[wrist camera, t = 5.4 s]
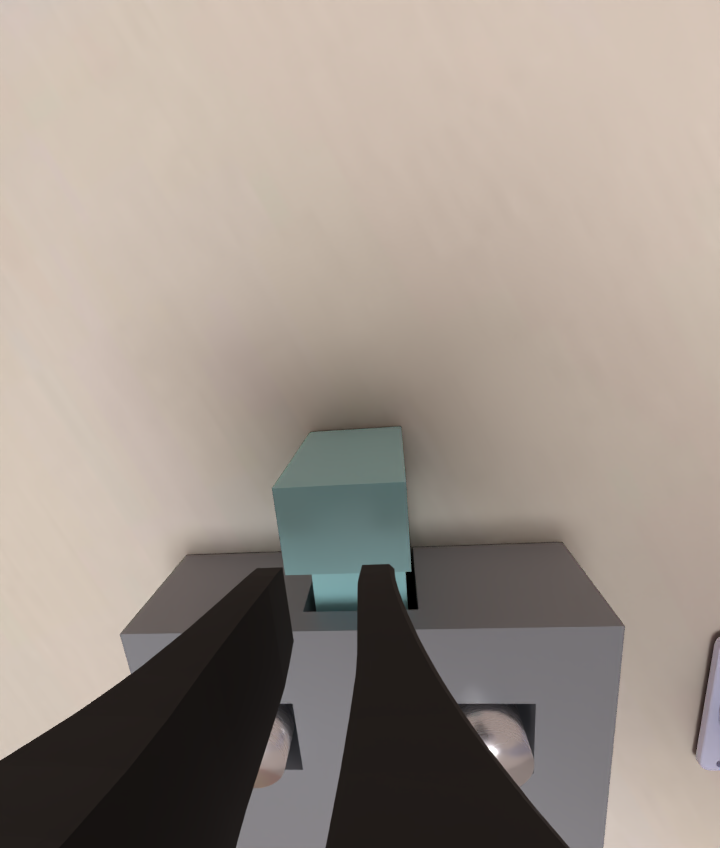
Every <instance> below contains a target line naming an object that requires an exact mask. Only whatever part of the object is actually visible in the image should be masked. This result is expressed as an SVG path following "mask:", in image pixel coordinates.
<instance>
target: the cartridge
mask: <svg viewBox="0 0 720 848" xmlns="http://www.w3.org/2000/svg"><path fill="white" fill-rule="evenodd" d="M272 491H273V498H274V505H275V511H276V518H277V525H278V531H279V538H280V544H281V551H282V558H283V564H284V571H285V575H312V582H313V590H314V597H315V605H316V612H322V611H357V587H358V579H359V574H360V571H361V567H362V565H372V564H390V565H391V566H392V567H393V568H394V569H395V578H396V582H397V586H398V589H399V592H400V595H401V598H402V601H403V603H404V606H405V608H406V610H408V598H407V583H406V572H411V556H410V539H409V522H408V506H407V489H406V475H405V464H404V453H403V442H402V430H401V426H399V427H383V428H367V429H350V430H334V431H318V432H310V433H309V434H308V436H307V437H306V439H305V440H304V442H303V443H302V445H301V446H300V448H299V449H298V451H297V452H296V454H295V455H294V457H293V458H292V460H291V461H290V463H289V464H288V466H287V467H286V468H285V470H284V471H283V473H282V474H281V476H280V477H279V479H278V480H277V482H276V483H275V485H274V486H273V488H272Z"/></svg>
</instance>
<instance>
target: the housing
mask: <svg viewBox="0 0 720 848" xmlns="http://www.w3.org/2000/svg"><path fill="white" fill-rule="evenodd" d="M413 560H414V577H415V595H416V610H406V611H407V613H408V615H409V617H410V620H411V622H412V624H413V626H414V628H415V630H416V633H417V635H418V637H419V639H420V641H421V643H422V644H423V646H424V648H425V650H426V652H427V654H428V656H429V657H430V659H431V661H432V663H433V665H434V666H435V668H436V670H437V672H438V673H439V675H440V677H441V678H442V680H443V682H444V683H445V685H446V687H447V688H448V690H449V691H450V693H451V694H452V696H453V697H454V699H455V701H456V702H457V704H516V705H517V708H518V711H519V714H520V717H521V720H522V723H523V726H524V730H525V733H526V736H527V739H528V742H529V745H530V748H531V751H532V755H533V758H534V770H533V773H532V775H531V777H530V778H529V779H528V780H527V782H526V783H524V784H523V785H522V786H520V789H521V790H522V791H523V792H524V794H525V795H526V796H527V798H528V799H529V800H530V801H531V803H532V804H533V805H534V806H535V808H536V809H537V810H538V811H539V812H540V813H541V815H542V816H543V817H544V818H545V819H546V820H547V822H548V823H549V824H550V825H551V826H552V827H553V829H554V830H555V831H556V832H557V833H558V834H559V836H560V837H561V838H562V839H563V840H564V841H565V843H566V844H567V845H568V846H569V847H570V848H603V845H604V835H605V825H606V814H607V804H608V794H609V784H610V774H611V763H612V753H613V743H614V733H615V723H616V712H617V702H618V692H619V682H620V671H621V661H622V651H623V641H624V631H625V626H624V624H623V623H622V622H621V620H620V619H619V618H618V616H617V615H616V614H615V612H614V611H613V610H612V608H611V607H610V605H609V604H608V603H607V601H606V600H605V599H604V597H603V596H602V595H601V593H600V592H599V591H598V589H597V588H596V587H595V585H594V584H593V583H592V581H591V580H590V579H589V577H588V576H587V575H586V573H585V572H584V571H583V569H582V568H581V567H580V565H579V564H578V562H577V561H576V560H575V558H574V557H573V556H572V554H571V553H570V552H569V550H568V549H567V548H566V546H565V545H564V544H563V542H554V543H525V544H496V545H467V546H438V547H413ZM275 567H283V574H284V580H285V587H286V593H287V600H288V606H289V613H290V619H291V626H292V633H293V639H294V643H293V648H292V654H291V659H290V665H289V670H288V674H287V679H286V684H285V689H284V692H283V695H282V699H281V702H280V704H293V709H294V716H295V722H296V723H295V728H294V732H293V736H292V741H291V745H290V749H289V753H288V758H287V762H286V766H285V770H284V773H283V775H282V777H281V778H280V779H279V780H278V781H277V782H276V783H274V784H272V785H270V786H267V787H263V788H253V791H252V794H251V797H250V800H249V803H248V806H247V809H246V813H245V817H244V820H243V824H242V827H241V831H240V834H239V838H238V842H237V846H236V848H326V842H327V837H328V832H329V827H330V822H331V816H332V811H333V806H334V801H335V796H336V791H337V785H338V780H339V775H340V769H341V763H342V757H343V752H344V746H345V740H346V734H347V728H348V722H349V716H350V709H351V702H352V696H353V689H354V682H355V675H356V662H357V611H322V612H316V605H315V597H314V590H313V582H312V575H285V571H284V564H283V558H282V552H264V553H235V554H206V555H186V556H185V557H184V559H183V560H182V561H181V562H180V563H179V565H178V566H177V567H176V568H175V569H174V570H173V572H172V573H171V574H170V575H169V576H168V578H167V579H166V580H165V581H164V582H163V584H162V585H161V586H160V587H159V588H158V589H157V591H156V592H155V593H154V594H153V595H152V597H151V598H150V599H149V600H148V601H147V603H146V604H145V605H144V606H143V607H142V609H141V610H140V611H139V612H138V613H137V614H136V616H135V617H134V618H133V619H132V620H131V622H130V623H129V624H128V625H127V626H126V628H125V629H124V630H123V631H122V632H121V633H120V637H121V640H122V644H123V647H124V651H125V654H126V658H127V661H128V665H129V669H130V672H131V674H132V673H133V672H135V671H136V670H137V669H138V668H140V667H141V666H142V665H144V664H145V663H146V662H147V661H149V660H150V659H151V658H152V657H154V656H155V655H156V654H157V653H159V652H160V651H161V650H162V649H163V648H165V647H166V646H167V645H168V644H170V643H171V642H172V641H173V640H175V639H176V638H177V637H178V636H179V635H181V634H182V633H183V632H184V631H186V630H187V629H188V628H189V627H190V626H192V625H193V624H194V623H195V622H196V621H197V620H198V619H200V618H201V617H202V616H203V615H204V614H205V613H206V612H207V611H209V610H210V609H211V608H212V607H213V606H214V605H215V604H217V603H218V602H219V601H220V600H221V599H222V598H223V597H224V596H226V595H227V594H228V593H229V592H230V591H231V590H232V589H233V588H234V587H236V586H237V585H238V584H239V583H240V582H241V581H242V580H243V579H245V578H246V577H247V576H248V575H249V574H250V573H251V572H253V571H254V570H255V569H256V568H275Z"/></svg>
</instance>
